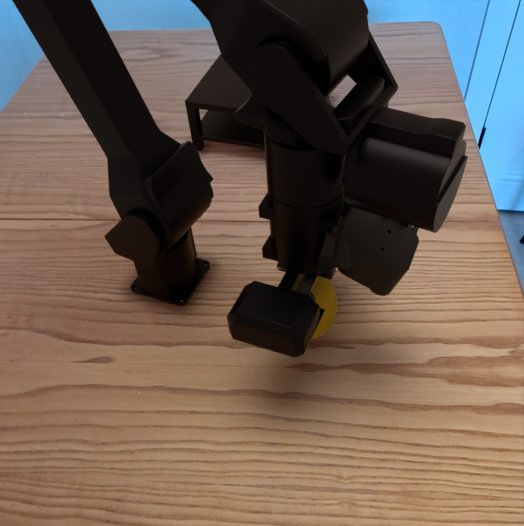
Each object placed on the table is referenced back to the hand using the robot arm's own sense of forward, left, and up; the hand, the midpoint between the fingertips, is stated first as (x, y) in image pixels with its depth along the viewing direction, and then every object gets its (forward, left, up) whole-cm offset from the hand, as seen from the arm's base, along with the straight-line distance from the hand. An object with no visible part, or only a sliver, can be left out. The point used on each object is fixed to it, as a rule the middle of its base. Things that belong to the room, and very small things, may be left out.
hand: (306, 321), depth 54 cm
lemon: (0, 0, -2) cm, 2 cm away
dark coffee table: (+32, +18, -2) cm, 37 cm away
